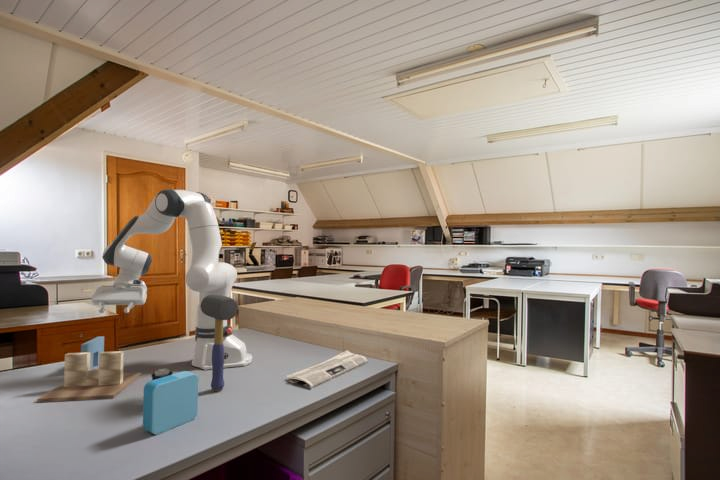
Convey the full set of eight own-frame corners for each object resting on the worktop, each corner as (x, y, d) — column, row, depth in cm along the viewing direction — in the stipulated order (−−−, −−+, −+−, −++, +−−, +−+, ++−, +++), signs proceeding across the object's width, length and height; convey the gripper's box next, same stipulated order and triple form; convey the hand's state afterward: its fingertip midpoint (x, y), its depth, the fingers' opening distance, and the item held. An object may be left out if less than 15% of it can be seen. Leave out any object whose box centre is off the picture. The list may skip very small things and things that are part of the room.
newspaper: (310, 390, 119) (310, 379, 119) (283, 382, 126) (283, 372, 126) (369, 363, 148) (369, 354, 149) (344, 357, 155) (344, 349, 155)
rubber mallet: (238, 392, 116) (240, 295, 117) (216, 399, 111) (217, 298, 111) (218, 382, 124) (220, 292, 125) (196, 388, 119) (198, 294, 119)
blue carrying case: (188, 413, 101) (188, 369, 101) (198, 418, 98) (198, 372, 99) (142, 431, 91) (143, 382, 91) (152, 437, 88) (153, 386, 89)
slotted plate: (97, 362, 144) (98, 336, 144) (103, 362, 144) (104, 336, 145) (80, 372, 132) (81, 344, 132) (86, 372, 132) (87, 344, 133)
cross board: (140, 375, 130) (141, 343, 130) (113, 398, 110) (114, 361, 111) (76, 378, 127) (77, 345, 127) (37, 402, 107) (38, 364, 107)
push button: (176, 407, 105) (177, 371, 105) (155, 412, 101) (156, 375, 101) (168, 400, 110) (168, 366, 110) (148, 405, 106) (148, 370, 106)
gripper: (96, 281, 160) (82, 307, 150) (147, 281, 164) (138, 307, 154) (101, 290, 165) (88, 316, 155) (151, 290, 168) (141, 316, 158)
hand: (113, 312), depth 154 cm, fingers open, 8 cm apart
